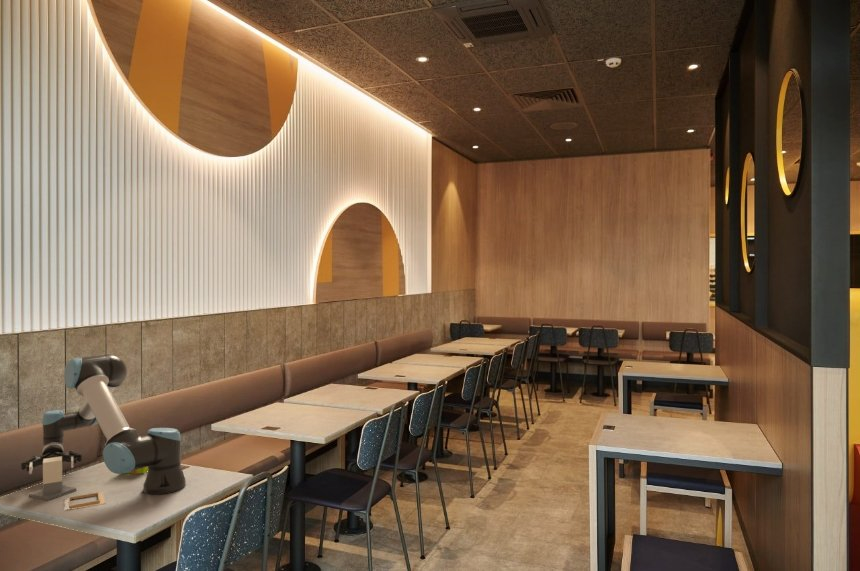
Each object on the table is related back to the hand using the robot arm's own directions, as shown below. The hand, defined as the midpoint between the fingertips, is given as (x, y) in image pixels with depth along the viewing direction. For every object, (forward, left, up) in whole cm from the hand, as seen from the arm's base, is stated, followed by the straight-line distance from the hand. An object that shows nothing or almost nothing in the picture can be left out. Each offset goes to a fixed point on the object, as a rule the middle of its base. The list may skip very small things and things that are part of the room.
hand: (51, 467), depth 226 cm
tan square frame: (-21, +2, -9) cm, 23 cm away
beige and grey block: (-2, +1, -8) cm, 9 cm away
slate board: (-2, +1, -9) cm, 10 cm away
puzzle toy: (-9, -32, -10) cm, 35 cm away
